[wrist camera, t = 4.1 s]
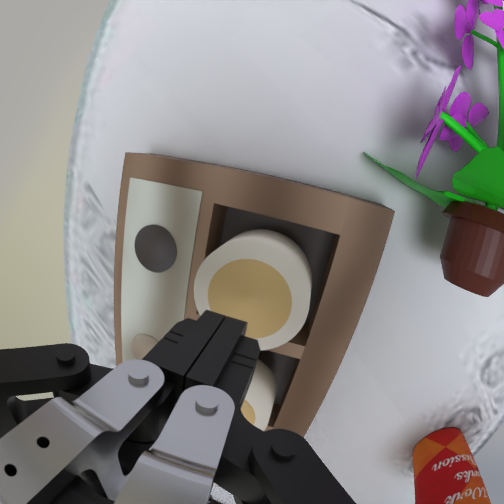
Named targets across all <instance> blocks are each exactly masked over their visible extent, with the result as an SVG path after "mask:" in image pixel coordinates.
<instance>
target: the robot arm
mask: <svg viewBox="0 0 504 504" xmlns="http://www.w3.org/2000/svg"><path fill="white" fill-rule="evenodd" d="M247 324H248V322H245V321H242V320H239V319H236V318H232V317H229V316H226V315H222V314H219V313H216V312H213V311H210V310H205V311H204V312H203V314H202V315H201V316H200V317H199V318H198V320H197V321H196V320H193V319H190V318H187V319H185V320H182V321H180V322H177V323H176V324H175V325H174V326H173V327H172V328H171V329H170V330H169V332H167V333H166V334H165V336H164V337H163V338H162V339H161V340H160V341H159V342H158V343H157V344H156V345H155V346H154V347H153V348H152V349H151V350H150V351H149V352H148V353H147V354H146V355H145V357H144V358H143V359H142V360H138V359H135V360H128V361H125V362H122V363H121V364H119V365H118V366H117V367H115V368H114V369H111V368H106V367H102V366H98V365H93V364H90V361H89V356H88V354H87V352H86V351H85V350H84V349H83V348H81V347H80V346H78V345H74V344H67V343H65V344H56V345H46V346H37V347H26V348H15V349H2V350H0V504H207V503H208V500H209V496H210V493H211V490H212V487H213V484H214V483H216V484H217V485H219V486H220V487H222V488H223V489H225V490H226V491H228V492H229V493H231V494H233V496H234V500H235V502H236V504H356V503H355V502H354V501H353V499H352V498H351V497H350V496H349V495H348V493H347V492H346V491H345V490H344V488H343V487H342V486H341V485H340V483H339V482H338V481H337V480H336V478H335V477H334V476H333V475H332V473H331V472H330V471H329V470H328V468H327V467H326V466H325V464H324V463H323V462H322V461H321V459H320V458H319V457H318V455H317V454H316V453H315V451H314V450H313V449H312V447H311V446H310V445H309V443H308V442H307V441H306V440H305V439H304V438H303V437H302V436H300V435H299V434H297V433H295V432H293V431H290V430H286V429H270V430H267V431H262V430H261V429H259V428H257V427H255V426H254V425H252V424H251V423H250V422H249V421H248V420H247V419H246V418H245V417H244V415H243V414H242V411H241V407H242V405H243V402H244V400H245V397H246V394H247V392H248V389H249V387H250V384H251V381H252V378H253V374H254V371H255V367H256V364H257V360H258V356H259V353H260V347H259V343H258V340H256V339H253V338H250V337H246V336H245V334H246V330H247ZM46 392H53V395H54V398H46V399H38V400H28V401H22V400H20V399H18V398H17V397H16V396H18V395H28V394H37V393H46Z"/></svg>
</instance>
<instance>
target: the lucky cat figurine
mask: <svg viewBox="0 0 504 504" xmlns="http://www.w3.org/2000/svg"><path fill="white" fill-rule="evenodd" d="M207 504H219V503H218V502H216V501H215V500H210V501H208V503H207Z"/></svg>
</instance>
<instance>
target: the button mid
mask: <svg viewBox="0 0 504 504" xmlns="http://www.w3.org/2000/svg"><path fill="white" fill-rule="evenodd" d="M276 392H277V382H276V379H275V377H274V375H273V373H272V371H271V370H270V369H269V368H268V367H267V366H266V365H265V364H264V363H263V362H262V361H260V360H259V359H258V360H257V364H256V367H255V371H254V374H253V378H252V381H251V384H250V387H249V389H248V392H247V394H246V397H245V400H244V402H243V405H242V407H241V411H242V414H243V415H244V417H245V418H246V419H247V420H248V421H249V422H250V423H251V424H252V425H254V426H255V427H257V428H259V429H261V430H262V431H264V430H265V429H266V427H267V425H268V422H269V418H270V415H271V411H272V407H273V404H274V400H275V396H276Z"/></svg>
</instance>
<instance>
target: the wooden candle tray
mask: <svg viewBox="0 0 504 504" xmlns="http://www.w3.org/2000/svg"><path fill="white" fill-rule="evenodd" d="M394 212H395V211H394V210H392V209H390V208H388V207H386V206H384V205H381V204H377V203H374V202H371V201H367V200H364V199H360V198H357V197H353V196H350V195H346V194H343V193H339V192H335V191H331V190H328V189H324V188H320V187H316V186H312V185H308V184H304V183H300V182H296V181H292V180H287V179H283V178H279V177H274V176H270V175H265V174H261V173H256V172H251V171H247V170H242V169H237V168H232V167H226V166H221V165H216V164H210V163H205V162H199V161H193V160H187V159H181V158H175V157H168V156H162V155H155V154H144V153H125V159H124V166H123V173H122V180H121V188H120V197H119V206H118V217H117V229H116V244H115V266H114V329H115V350H116V365H117V366H118V365H119V364H121V363H122V362H125V361H128V360H135V359H138V360H142V359H143V358H144V357H145V355H146V354H147V353H148V352H149V351H150V350H151V349H152V348H153V347H154V346H155V345H156V344H157V343H158V342H159V341H160V340H161V339H162V338H163V337H164V336H165V334H166V333H167V332H169V330H170V329H171V328H172V327H173V326H174V325H175V324H176V323H177V322H180V321H182V320H185V319H187V318H190V319H193V320H196V321H197V320H198V318H199V317H200V315H199V313H198V310H197V307H196V304H195V299H194V282H195V277H196V274H197V271H198V269H199V267H200V266H201V264H202V263H203V261H204V260H205V259H206V258H207V257H208V256H209V255H210V254H211V253H212V252H213V251H215V250H216V249H218V248H219V247H220V246H222V245H223V244H225V243H226V242H227V241H229V240H230V239H232V238H233V237H234V236H236V235H238V234H240V233H242V232H245V231H249V230H255V229H266V230H272V231H275V232H278V233H281V234H283V235H285V236H287V237H288V238H290V239H291V240H293V241H294V242H295V243H296V244H297V245H298V246H299V247H300V248H301V249H302V251H303V252H304V254H305V255H306V257H307V259H308V261H309V264H310V267H311V271H312V289H311V297H310V305H309V311H308V315H307V318H306V321H305V323H304V325H303V326H302V328H301V330H300V331H299V332H298V333H297V334H296V335H295V336H294V337H293V338H292V339H291V340H289V341H288V342H287V343H285V344H283V345H281V346H279V347H276V348H273V349H268V350H260V353H259V356H258V359H259V360H260V361H262V362H263V363H264V364H265V365H266V366H267V367H268V368H269V369H270V370H271V371H272V373H273V375H274V377H275V379H276V382H277V392H276V396H275V400H274V404H273V407H272V411H271V415H270V418H269V422H268V425H267V427H266V429H265V430H264V431H267V430H270V429H286V430H290V431H293V432H295V433H297V434H299V435H300V436H302V437H304V435H305V434H306V432H307V430H308V428H309V426H310V424H311V423H312V421H313V419H314V417H315V415H316V413H317V411H318V409H319V407H320V405H321V403H322V401H323V399H324V397H325V395H326V393H327V391H328V389H329V387H330V385H331V383H332V381H333V379H334V377H335V375H336V373H337V370H338V368H339V366H340V364H341V362H342V359H343V357H344V355H345V352H346V350H347V348H348V346H349V343H350V341H351V338H352V336H353V334H354V331H355V329H356V326H357V324H358V321H359V319H360V316H361V313H362V311H363V308H364V306H365V303H366V300H367V298H368V295H369V292H370V289H371V286H372V284H373V281H374V278H375V275H376V272H377V269H378V266H379V263H380V260H381V257H382V253H383V250H384V247H385V244H386V240H387V237H388V234H389V230H390V227H391V223H392V219H393V216H394Z"/></svg>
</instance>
